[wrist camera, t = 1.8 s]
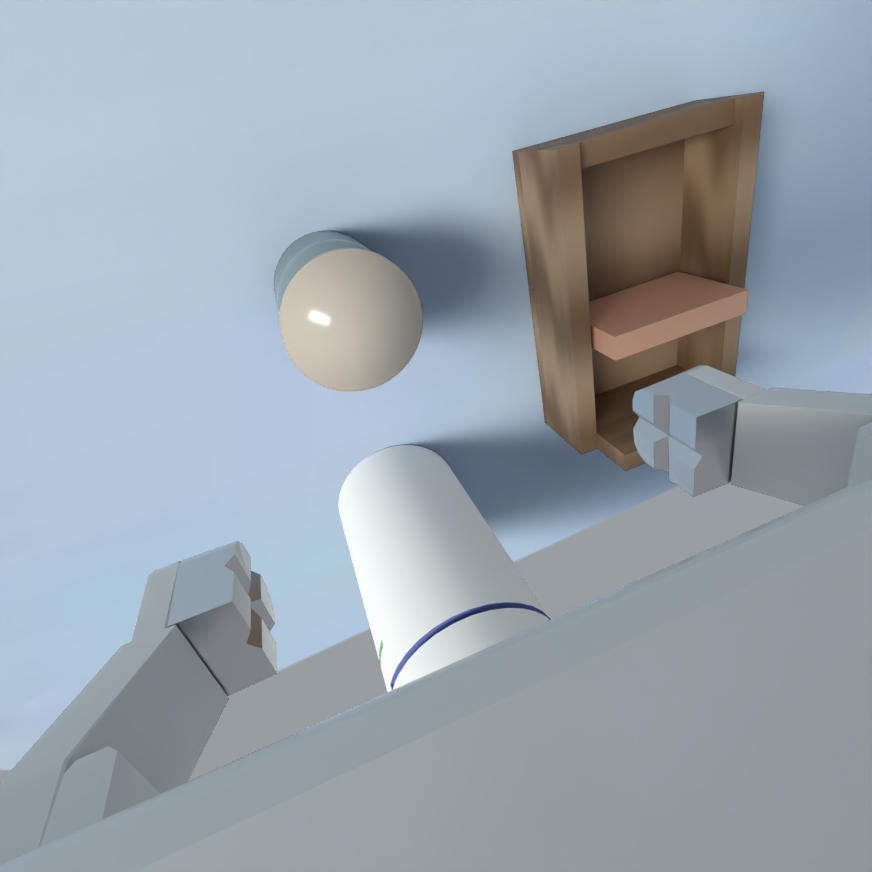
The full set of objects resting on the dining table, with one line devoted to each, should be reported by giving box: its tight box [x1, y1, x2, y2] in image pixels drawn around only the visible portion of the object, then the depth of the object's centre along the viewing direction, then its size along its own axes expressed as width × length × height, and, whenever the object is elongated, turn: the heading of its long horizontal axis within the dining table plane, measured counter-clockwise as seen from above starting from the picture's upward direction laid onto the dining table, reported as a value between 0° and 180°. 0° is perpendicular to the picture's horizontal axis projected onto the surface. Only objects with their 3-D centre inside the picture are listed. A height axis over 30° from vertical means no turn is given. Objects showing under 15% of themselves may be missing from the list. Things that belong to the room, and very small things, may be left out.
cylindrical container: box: [339, 445, 551, 692], centre depth 20 cm, size 7×7×25 cm
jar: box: [274, 231, 423, 392], centre depth 21 cm, size 5×5×6 cm
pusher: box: [589, 272, 748, 361], centre depth 27 cm, size 1×7×5 cm, turn 103°
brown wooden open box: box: [512, 92, 764, 471], centre depth 26 cm, size 15×10×7 cm, turn 13°
